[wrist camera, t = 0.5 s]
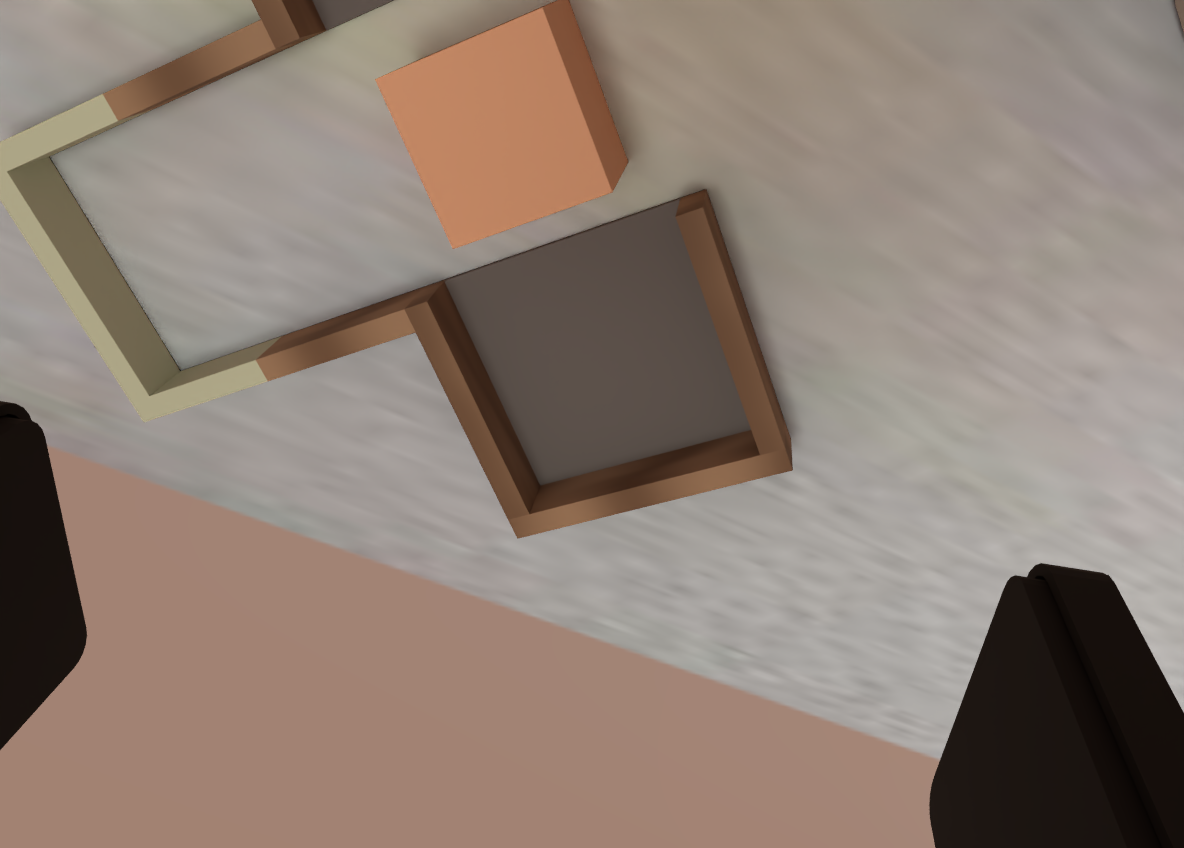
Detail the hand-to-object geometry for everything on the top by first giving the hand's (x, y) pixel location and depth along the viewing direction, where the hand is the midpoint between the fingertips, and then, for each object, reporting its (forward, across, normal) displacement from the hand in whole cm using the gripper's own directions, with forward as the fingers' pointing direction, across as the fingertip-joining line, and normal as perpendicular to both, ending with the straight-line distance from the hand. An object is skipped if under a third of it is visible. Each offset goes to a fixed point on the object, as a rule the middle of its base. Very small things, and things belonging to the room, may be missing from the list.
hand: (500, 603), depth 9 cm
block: (+29, +6, +1) cm, 29 cm away
